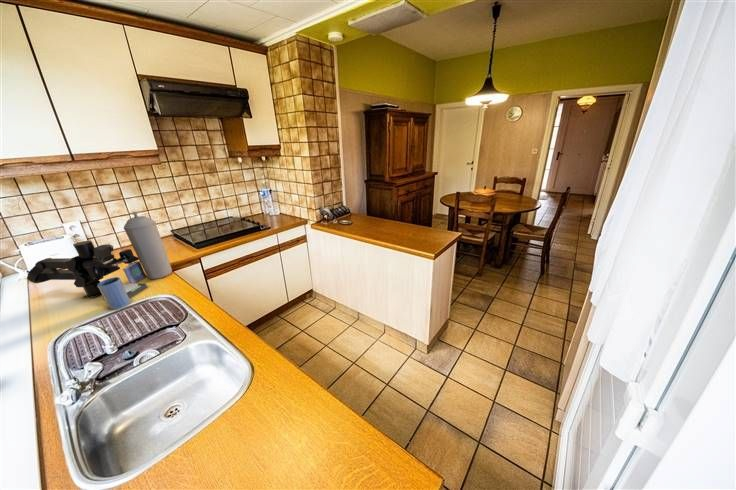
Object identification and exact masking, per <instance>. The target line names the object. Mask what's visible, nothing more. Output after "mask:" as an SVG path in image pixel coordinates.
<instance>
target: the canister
mask: <svg viewBox="0 0 736 490" xmlns="http://www.w3.org/2000/svg"><path fill="white" fill-rule="evenodd" d="M138 214H139V212H138V211H135V212H132V213H131V215H133V217H130V218H129V219H127V220H126V223H125V224H124V225H123V230H124V232H125V234H126V236H127V237H128V240H129V243H130V244H131V246H132V248H133V250H134V252H135V255H136V257H138V258H139V260H138V261H140V263H141V266H142V268H143V270H144V273H145V275H146V277H147V278H148V279H149V280H157V279H158V280H159V279H161V278H165V277H166V276H169V275H170V274H171V273H172V272H173V268H172V266H171V262H170V260H169V257H168V254H167V251H166V248H165V245H164V243H163V240H162V237H161V234H160V232H159V228H158V226H157V223H156V222H157V221H155V220H154V219H152V218H150V217H148V216H145V215H141V216H138Z"/></svg>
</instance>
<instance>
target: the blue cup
mask: <svg viewBox="0 0 736 490" xmlns="http://www.w3.org/2000/svg"><path fill="white" fill-rule="evenodd" d="M123 285H124V283H123V282H122V280H121V277H118V276H117V277H115V276H114V277H109V278H107V279H104V280H101V281H100V283H98V285H97V286H98V288H99V290H100V291H101V293H102V294H101V295H102V297H103V300H104V301H105V303H106V304H107V307H108V308H109V310H112V311H113V310H119V309H122V308H124V307H126V306H128V305H129V304H130V303H131V301H132V300H131V298H129V296H128V294H127V292H126V290H125V288H124V286H123Z"/></svg>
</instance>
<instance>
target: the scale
mask: <svg viewBox="0 0 736 490" xmlns="http://www.w3.org/2000/svg"><path fill="white" fill-rule="evenodd" d="M123 286H124V288H125V290H126V292H127V294H128V296H129V298H130V299H132V298H134V297H135V296H137V295H138V294H139V293H141V292H143V291H145V290H146V289H147V288H148V285H147V283H137V282H136V283H131V284H130V283H125V284H123Z"/></svg>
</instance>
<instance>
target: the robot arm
mask: <svg viewBox="0 0 736 490" xmlns="http://www.w3.org/2000/svg"><path fill="white" fill-rule="evenodd" d="M72 245H73V247H74V249H75V250H76V252H77V254H78V255H75V256H73V257H70V258H66V257H65V258H62V257H61V258H57V257H56V258H52V257H47V258H44V259H41V260H39V261H36V263H35V264H34V266H33V267H32V268H31V269H30V270H29V271H28V272H27V276H26V278H27V280H28V281H29V282H31V283H34V284H41V283H44V282H48V281H51V280H52V281H59V280H60V281H74V282H73V285H74V286H75V288H83V290H84V292H85V295H83V298H97V297H98V296H100V295H102V293H101V291H100V290H99V288H98V286H97V285H98V283H100V282H101V281H100V280H103V279H104V277H106V276H108V275H110V274H113V273H114V272H117V271H119V270H121V267H120V266H119V265H121V264H125V265H128V263H129V264H130V263H133V262H136V261H139V258H138V257H137V255H134V252H133V250H132V249H131V248H126V249H124V250H121V251H120V252H119V253H118V255H119V257H118V258H116V256H115V254H114V253H112V252H114V246H113V245H112V244H110V243H108V244H106V243H105V244H101V245H98V246H96V247H95V245H94V243H93V242H92V240H85V241H81V242H75V243H73V244H72Z"/></svg>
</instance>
